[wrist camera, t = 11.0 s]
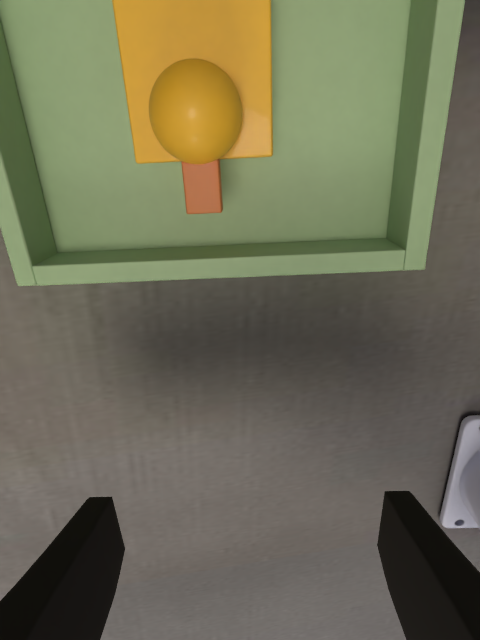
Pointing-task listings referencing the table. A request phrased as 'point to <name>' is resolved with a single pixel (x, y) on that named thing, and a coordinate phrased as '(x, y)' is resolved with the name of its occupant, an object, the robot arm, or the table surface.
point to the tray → (236, 174)
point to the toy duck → (197, 86)
